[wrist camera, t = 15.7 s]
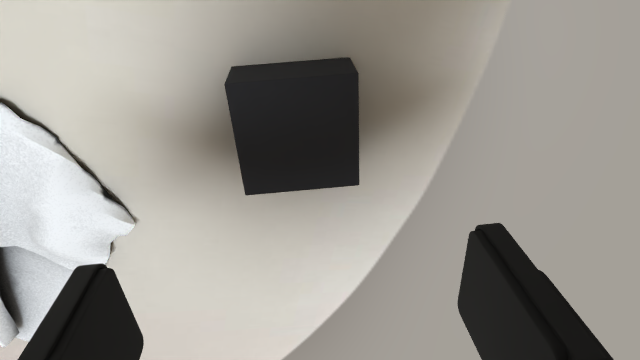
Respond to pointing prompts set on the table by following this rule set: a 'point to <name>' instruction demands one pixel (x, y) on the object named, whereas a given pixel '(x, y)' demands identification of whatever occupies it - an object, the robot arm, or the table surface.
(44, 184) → the cloth
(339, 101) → the top pad
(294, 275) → the table surface
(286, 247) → the table surface
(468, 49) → the table surface
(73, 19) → the table surface
